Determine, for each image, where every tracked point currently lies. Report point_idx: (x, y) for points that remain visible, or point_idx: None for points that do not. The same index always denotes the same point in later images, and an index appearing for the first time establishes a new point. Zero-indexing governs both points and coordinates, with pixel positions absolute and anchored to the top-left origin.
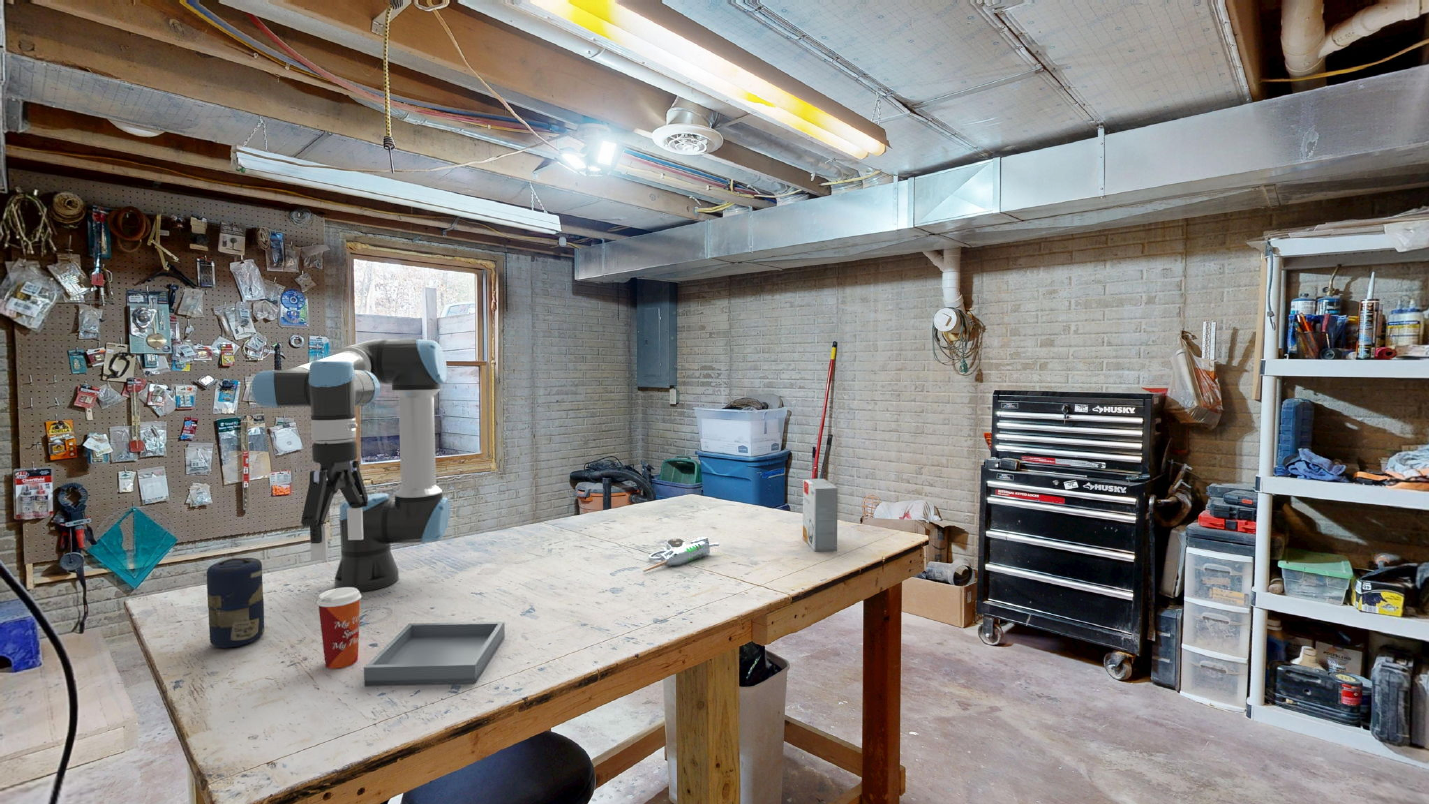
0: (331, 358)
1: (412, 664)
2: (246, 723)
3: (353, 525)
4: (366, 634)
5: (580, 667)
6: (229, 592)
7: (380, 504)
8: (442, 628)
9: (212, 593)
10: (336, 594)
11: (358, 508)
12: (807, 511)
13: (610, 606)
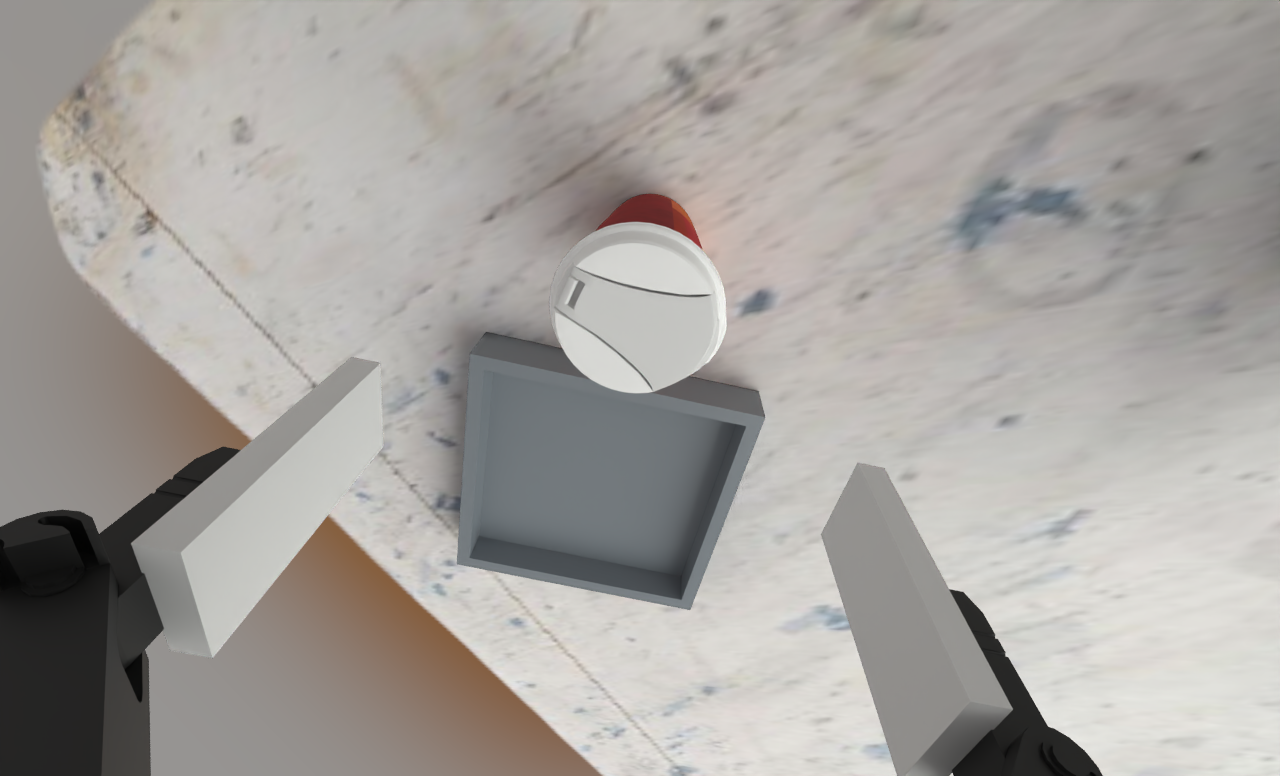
0: None
1: (474, 456)
2: (303, 79)
3: (873, 580)
4: (859, 262)
5: (512, 667)
6: None
7: None
8: (719, 489)
9: None
10: (617, 317)
11: (911, 769)
12: None
13: (790, 732)
